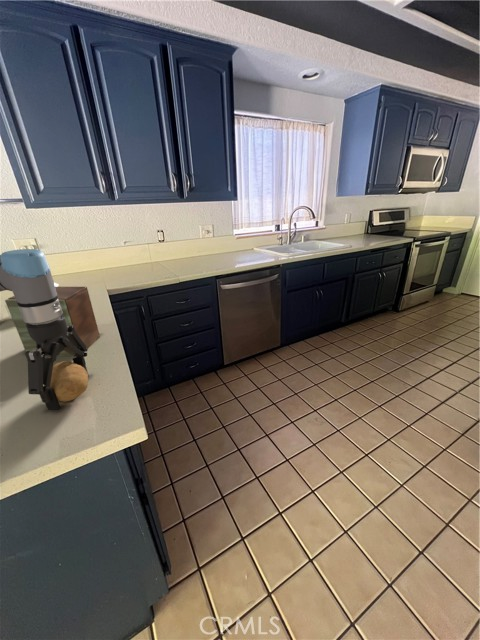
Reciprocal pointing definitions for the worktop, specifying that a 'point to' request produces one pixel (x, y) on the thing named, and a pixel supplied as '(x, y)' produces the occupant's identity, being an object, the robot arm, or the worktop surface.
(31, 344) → the cupboard door
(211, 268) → the worktop surface
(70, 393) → the potato
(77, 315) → the cupboard
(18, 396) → the worktop surface
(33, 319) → the robot arm
